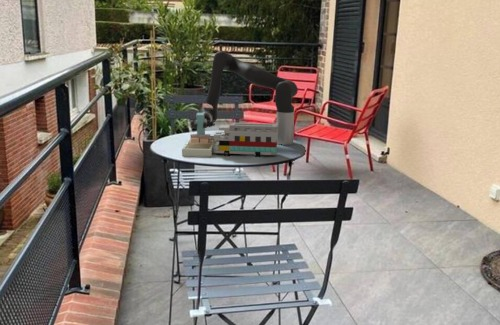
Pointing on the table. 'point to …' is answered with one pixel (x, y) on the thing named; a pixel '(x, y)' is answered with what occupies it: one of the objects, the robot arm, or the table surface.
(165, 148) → the table surface
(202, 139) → the tile
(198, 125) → the tall teal pillar block
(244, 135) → the toy vehicle
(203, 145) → the board
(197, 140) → the tile
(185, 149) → the tray
